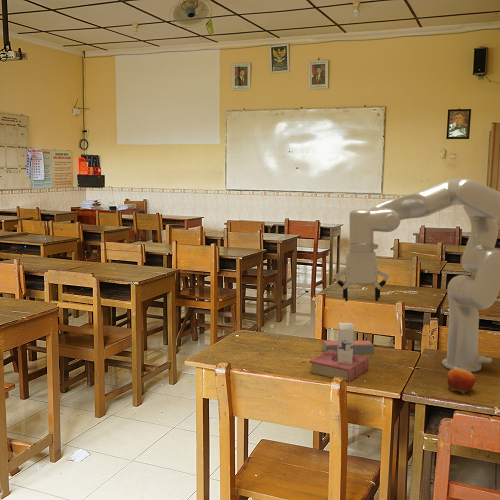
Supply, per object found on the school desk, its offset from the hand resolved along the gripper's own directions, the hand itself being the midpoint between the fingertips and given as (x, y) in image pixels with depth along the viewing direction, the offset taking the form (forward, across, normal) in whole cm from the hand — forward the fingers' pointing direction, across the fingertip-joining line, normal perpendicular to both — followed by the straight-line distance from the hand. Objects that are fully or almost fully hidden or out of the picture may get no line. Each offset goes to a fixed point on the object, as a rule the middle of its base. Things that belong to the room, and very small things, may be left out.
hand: (361, 300), depth 174 cm
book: (+26, +7, -2) cm, 27 cm away
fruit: (+26, -29, +10) cm, 40 cm away
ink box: (+21, +5, -2) cm, 22 cm away
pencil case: (+25, +3, -25) cm, 35 cm away
